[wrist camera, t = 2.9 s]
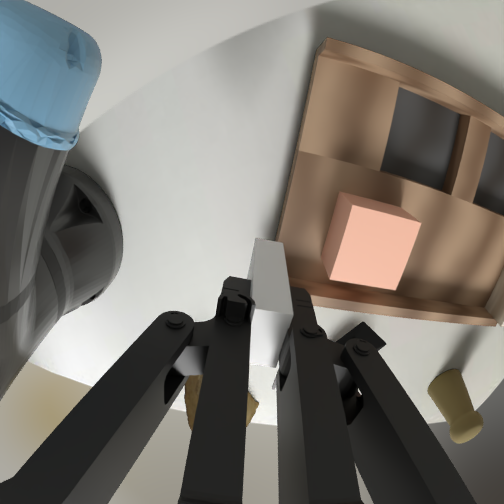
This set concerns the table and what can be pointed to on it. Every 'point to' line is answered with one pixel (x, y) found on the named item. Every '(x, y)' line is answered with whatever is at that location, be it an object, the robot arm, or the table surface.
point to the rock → (193, 394)
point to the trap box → (399, 186)
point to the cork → (455, 405)
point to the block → (368, 242)
